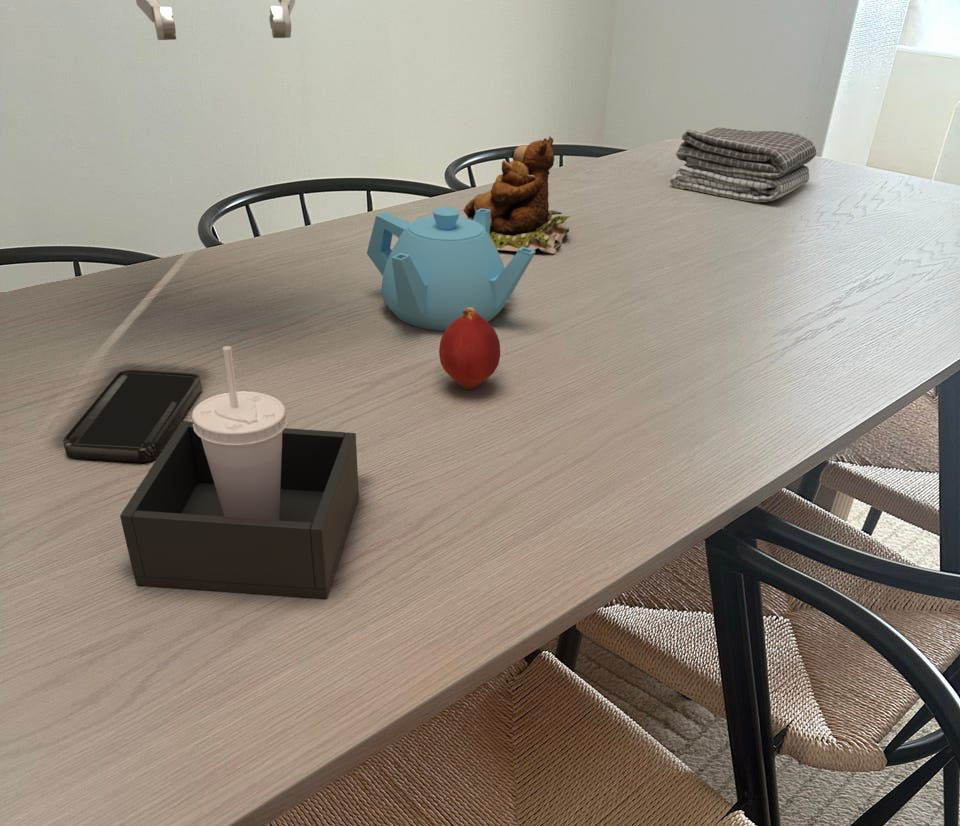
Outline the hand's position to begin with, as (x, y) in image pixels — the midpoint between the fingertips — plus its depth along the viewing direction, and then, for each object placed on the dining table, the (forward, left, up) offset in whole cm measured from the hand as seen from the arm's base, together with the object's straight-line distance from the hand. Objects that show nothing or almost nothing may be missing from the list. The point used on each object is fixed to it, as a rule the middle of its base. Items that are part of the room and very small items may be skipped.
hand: (225, 34), depth 82 cm
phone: (-7, -15, -28) cm, 33 cm away
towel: (+57, +73, -28) cm, 97 cm away
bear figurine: (+23, +42, -28) cm, 56 cm away
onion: (+21, -4, -28) cm, 36 cm away
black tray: (+7, -32, -28) cm, 43 cm away
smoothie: (+7, -32, -27) cm, 43 cm away
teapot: (+17, +15, -28) cm, 36 cm away
